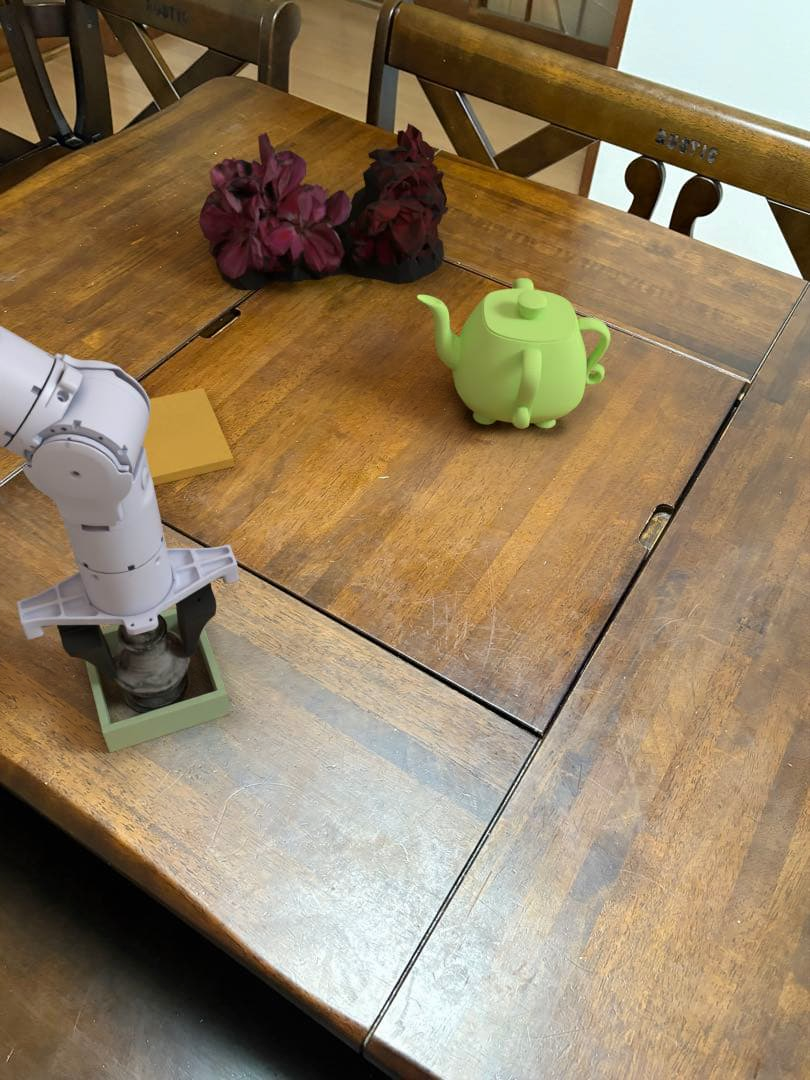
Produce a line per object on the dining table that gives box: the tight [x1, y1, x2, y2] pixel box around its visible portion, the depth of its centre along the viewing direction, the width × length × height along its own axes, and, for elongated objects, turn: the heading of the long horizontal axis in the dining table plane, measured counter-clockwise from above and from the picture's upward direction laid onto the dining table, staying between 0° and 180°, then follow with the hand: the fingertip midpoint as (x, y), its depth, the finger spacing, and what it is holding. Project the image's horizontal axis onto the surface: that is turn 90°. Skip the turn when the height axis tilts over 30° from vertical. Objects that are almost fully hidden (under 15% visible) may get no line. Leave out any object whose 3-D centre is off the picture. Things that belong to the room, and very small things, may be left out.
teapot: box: [416, 277, 611, 430], centre depth 92 cm, size 16×14×13 cm
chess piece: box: [112, 614, 192, 714], centre depth 68 cm, size 6×6×12 cm
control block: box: [142, 387, 235, 487], centre depth 88 cm, size 14×12×3 cm
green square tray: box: [84, 607, 231, 754], centre depth 71 cm, size 9×9×3 cm
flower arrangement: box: [198, 123, 450, 291], centre depth 108 cm, size 31×20×15 cm, turn 114°
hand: (149, 657), depth 69 cm, fingers open, 5 cm apart
